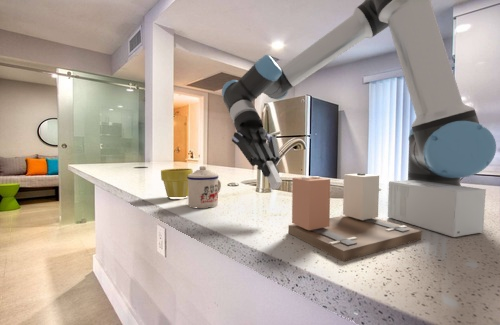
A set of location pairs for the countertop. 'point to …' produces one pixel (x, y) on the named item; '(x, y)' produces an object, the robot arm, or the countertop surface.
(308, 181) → the tall salmon pillar
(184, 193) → the plant pot
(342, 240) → the walnut track board
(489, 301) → the countertop surface
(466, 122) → the robot arm
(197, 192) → the teacup with lid
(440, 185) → the supplement box
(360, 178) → the tall white pillar
